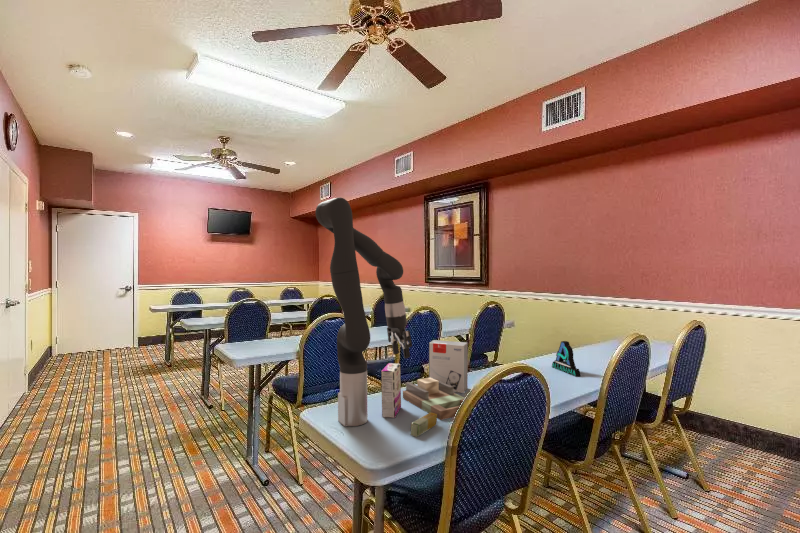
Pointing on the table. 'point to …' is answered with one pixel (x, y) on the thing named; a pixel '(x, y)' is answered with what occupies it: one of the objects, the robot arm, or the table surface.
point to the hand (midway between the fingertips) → (401, 355)
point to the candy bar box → (391, 390)
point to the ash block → (429, 385)
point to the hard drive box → (449, 363)
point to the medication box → (423, 424)
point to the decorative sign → (567, 355)
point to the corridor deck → (434, 399)
